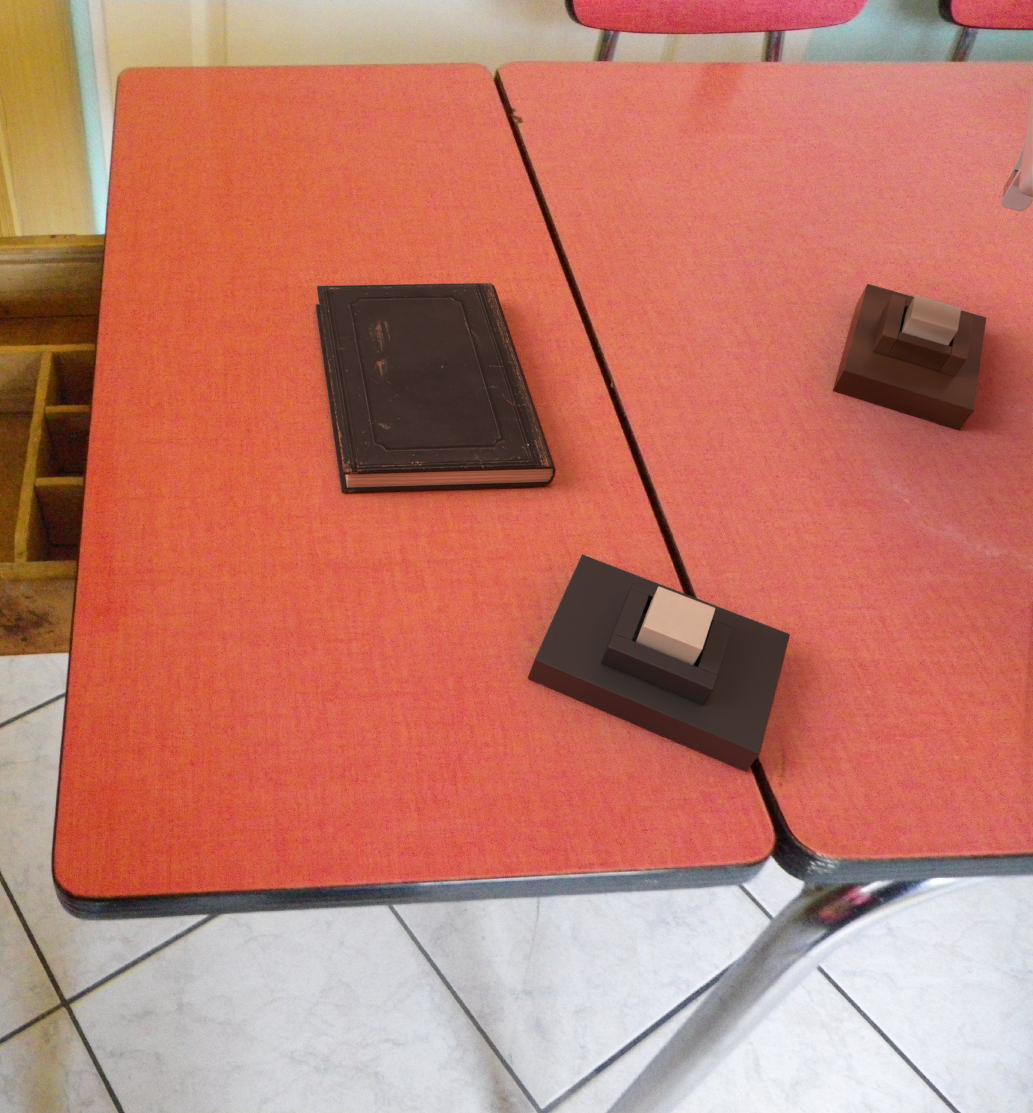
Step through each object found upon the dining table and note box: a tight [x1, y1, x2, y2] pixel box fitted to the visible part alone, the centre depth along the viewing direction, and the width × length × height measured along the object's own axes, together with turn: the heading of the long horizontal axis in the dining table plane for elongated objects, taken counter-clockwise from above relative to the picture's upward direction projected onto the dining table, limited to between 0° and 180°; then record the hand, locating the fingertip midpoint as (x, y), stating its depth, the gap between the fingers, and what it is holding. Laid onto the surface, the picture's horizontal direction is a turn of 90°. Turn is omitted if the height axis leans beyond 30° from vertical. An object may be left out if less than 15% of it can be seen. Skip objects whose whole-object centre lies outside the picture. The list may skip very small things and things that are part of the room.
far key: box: [902, 294, 962, 346], centre depth 85 cm, size 4×4×2 cm
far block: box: [832, 283, 987, 431], centre depth 87 cm, size 14×10×4 cm
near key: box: [636, 587, 715, 665], centre depth 63 cm, size 4×4×2 cm
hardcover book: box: [315, 282, 557, 494], centre depth 83 cm, size 16×23×2 cm
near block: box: [527, 554, 791, 772], centre depth 65 cm, size 14×10×4 cm
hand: (1013, 200), depth 76 cm, fingers closed
